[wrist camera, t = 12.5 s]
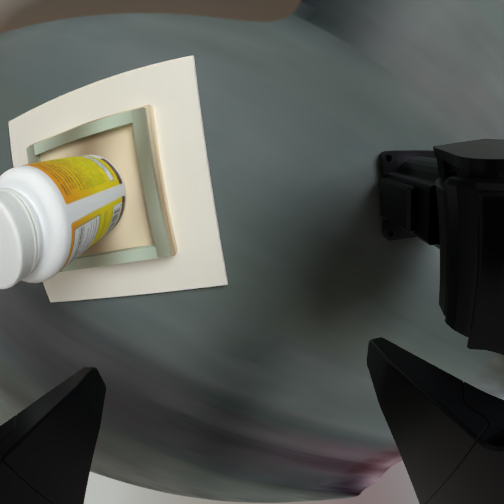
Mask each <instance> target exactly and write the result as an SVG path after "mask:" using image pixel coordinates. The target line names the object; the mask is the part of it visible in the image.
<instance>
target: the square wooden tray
mask: <svg viewBox="0 0 504 504" xmlns="http://www.w3.org/2000/svg"><path fill="white" fill-rule="evenodd" d="M26 149H27V157H28V164H31V163H37V162H42V161H48V160H54V159H60V158H67V157H73V156H80V155H97V156H101V157H103V158H105V159H107V160H108V161H110V162H111V163H112V164H113V165H114V166H115V167H116V168H117V169H118V171H119V173H120V174H121V176H122V178H123V181H124V184H125V189H126V205H125V209H124V213H123V215H122V217H121V219H120V221H119V223H118V224H117V225H116V226H115V227H114V228H113V229H112V230H111V231H110V232H109V233H108V234H106V235H105V236H103V237H102V238H101V239H99V240H98V241H97V242H96V243H94V244H93V245H92V246H91V247H89V248H88V249H87V250H85V251H84V252H83V253H82V254H80V255H79V256H78V257H77V258H75V259H74V260H73V261H72V262H71V263H69V264H68V265H67V266H66V267H65V268H63V269H62V270H61V271H60V272H64V271H71V270H78V269H85V268H92V267H99V266H106V265H113V264H121V263H128V262H135V261H142V260H150V259H157V258H164V257H171V256H175V255H176V253H177V252H178V249H177V244H176V239H175V235H174V230H173V225H172V220H171V215H170V209H169V204H168V199H167V193H166V188H165V182H164V176H163V170H162V164H161V158H160V152H159V145H158V138H157V132H156V124H155V117H154V109H153V106H151V105H149V104H148V105H144V106H140V107H137V108H133V109H129V110H126V111H122V112H119V113H115V114H112V115H109V116H106V117H103V118H99V119H96V120H93V121H90V122H87V123H85V124H82V125H79V126H76V127H73V128H71V129H68V130H65V131H63V132H60V133H58V134H55V135H53V136H50V137H48V138H45V139H43V140H41V141H38V142H36V143H34V144H32V145H29V147H27V148H26Z"/></svg>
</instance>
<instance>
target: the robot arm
mask: <svg viewBox="0 0 504 504" xmlns="http://www.w3.org/2000/svg"><path fill="white" fill-rule="evenodd" d="M433 149H434V151H419V150H411V151H384V152H382V153H381V156H380V161H381V180H380V182H379V187H380V215H381V216H382V217H383V236H384V237H385V238H386V239H388V240H395V239H402V238H409V237H416V236H417V237H418V238H420V239H421V240H423V241H425V242H426V243H428V244H429V245H434V246H436V247H437V248H439V249H440V292H439V305H440V307H441V310H442V312H443V314H444V315H445V317H446V318H445V322H446V323H447V324H448V325H449V326H450V327H451V328H452V329H453V330H455V331H457V332H458V333H460V334H462V335H464V336H466V337H469V338H468V344H467V347H468V348H469V349H479V350H489V351H492V352H496V353H500V354H502V355H504V140H498V139H481V140H474V141H466V142H459V143H453V144H446V145H440V146H434V147H433ZM387 155H389V160H388V161H387V160H386V156H387ZM390 230H391V234H390V235H388V232H389V231H390ZM367 366H368V369H369V372H370V376H371V379H372V382H373V385H374V389H375V392H376V395H377V399H378V402H379V405H380V407H381V410H382V412H383V414H384V416H385V419H386V421H387V423H388V426H389V428H390V430H391V433H392V435H393V438H394V440H395V442H396V445H397V447H398V450H399V452H400V454H401V457H402V459H403V462H404V464H405V467H406V469H407V472H408V474H409V477H410V479H411V482H412V485H413V487H414V490H415V493H416V495H417V498H418V501H419V503H420V504H504V400H502V399H499V398H497V397H495V396H492V395H490V394H488V393H485V392H483V391H481V390H479V389H477V388H475V387H473V386H471V385H469V384H468V383H466V382H463V381H462V380H460V379H458V378H456V377H454V376H452V375H451V374H449V373H447V372H445V371H443V370H441V369H439V368H438V367H436V366H434V365H432V364H430V363H428V362H426V361H425V360H423V359H421V358H419V357H417V356H415V355H414V354H412V353H410V352H408V351H406V350H404V349H403V348H401V347H399V346H397V345H395V344H393V343H392V342H390V341H388V340H386V339H384V338H382V337H381V338H376V339H372V340H370V341H369V345H368V354H367ZM105 393H106V386H105V383H104V381H103V379H102V377H101V376H100V374H99V372H98V370H97V369H96V368H95V367H84V368H82V369H81V370H79V371H78V372H77V373H75V374H74V375H72V376H71V377H69V378H68V379H67V380H65V381H64V382H62V383H61V384H60V385H58V386H57V387H55V388H54V389H52V390H51V391H50V392H48V393H47V394H45V395H44V396H43V397H41V398H40V399H38V400H37V401H35V402H34V403H33V404H31V405H30V406H28V407H27V408H26V409H24V410H23V411H21V412H20V413H18V414H17V416H14V417H13V418H11V419H10V420H8V421H7V422H6V423H4V424H3V425H1V426H0V504H83V503H84V498H85V492H86V486H87V482H88V476H89V472H90V467H91V463H92V458H93V454H94V449H95V445H96V441H97V437H98V433H99V429H100V424H101V418H102V411H103V405H104V399H105Z"/></svg>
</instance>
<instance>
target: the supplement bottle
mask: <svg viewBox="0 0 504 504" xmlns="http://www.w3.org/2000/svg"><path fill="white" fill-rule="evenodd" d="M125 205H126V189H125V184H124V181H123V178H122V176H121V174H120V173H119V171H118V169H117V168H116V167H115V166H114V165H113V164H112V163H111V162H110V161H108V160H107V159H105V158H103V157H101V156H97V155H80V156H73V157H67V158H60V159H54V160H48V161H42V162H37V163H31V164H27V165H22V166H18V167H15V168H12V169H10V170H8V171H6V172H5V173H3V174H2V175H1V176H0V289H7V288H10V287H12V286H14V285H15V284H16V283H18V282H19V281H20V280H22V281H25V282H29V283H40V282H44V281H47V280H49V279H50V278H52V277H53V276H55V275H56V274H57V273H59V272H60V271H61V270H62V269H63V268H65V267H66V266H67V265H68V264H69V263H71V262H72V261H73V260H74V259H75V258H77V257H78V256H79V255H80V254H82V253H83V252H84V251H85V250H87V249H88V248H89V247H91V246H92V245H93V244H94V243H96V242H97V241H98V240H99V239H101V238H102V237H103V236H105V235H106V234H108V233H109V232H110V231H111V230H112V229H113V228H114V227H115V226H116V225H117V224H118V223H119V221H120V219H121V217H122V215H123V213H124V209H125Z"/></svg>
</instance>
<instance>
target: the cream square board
mask: <svg viewBox="0 0 504 504" xmlns="http://www.w3.org/2000/svg"><path fill="white" fill-rule="evenodd" d="M148 104H149V105H151V106H153V109H154V117H155V124H156V132H157V138H158V145H159V152H160V158H161V164H162V170H163V176H164V182H165V188H166V193H167V199H168V204H169V209H170V215H171V220H172V225H173V230H174V235H175V239H176V244H177V249H178V252H177V253H176V255H175V256H171V257H164V258H157V259H150V260H142V261H135V262H128V263H121V264H113V265H106V266H99V267H92V268H85V269H78V270H71V271H64V272H59V273H57V274H56V275H55V276H53V277H52V278H50V279H49V280H47V281H44V282H43V284H44V287H45V289H46V292H47V295H48V297H49V300H50V302H63V301H75V300H87V299H98V298H109V297H120V296H130V295H140V294H150V293H160V292H169V291H178V290H187V289H196V288H204V287H213V286H221V285H228V280H227V274H226V269H225V263H224V257H223V251H222V245H221V240H220V234H219V228H218V221H217V215H216V209H215V203H214V197H213V190H212V184H211V177H210V171H209V164H208V157H207V150H206V144H205V137H204V129H203V122H202V115H201V108H200V100H199V93H198V85H197V77H196V69H195V61H194V56H188V57H183V58H178V59H174V60H169V61H165V62H161V63H157V64H153V65H149V66H145V67H142V68H138V69H135V70H131V71H128V72H125V73H121V74H118V75H115V76H112V77H109V78H106V79H103V80H100V81H98V82H95V83H92V84H89V85H87V86H84V87H82V88H79V89H77V90H74V91H72V92H69V93H67V94H64V95H62V96H60V97H58V98H55V99H53V100H51V101H49V102H47V103H44V104H42V105H40V106H38V107H36V108H34V109H32V110H30V111H28V112H26V113H24V114H22V115H21V116H19V117H17V118H15V119H13V120H11V121H10V122H9V133H10V143H11V152H12V159H13V166H14V168H15V167H18V166H22V165H27V164H28V157H27V149H26V148H27V147H29V145H32V144H34V143H36V142H38V141H41V140H43V139H45V138H48V137H50V136H53V135H55V134H58V133H60V132H63V131H65V130H68V129H71V128H73V127H76V126H79V125H82V124H85V123H87V122H90V121H93V120H96V119H99V118H103V117H106V116H109V115H112V114H115V113H119V112H122V111H126V110H129V109H133V108H137V107H140V106H144V105H148Z"/></svg>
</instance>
